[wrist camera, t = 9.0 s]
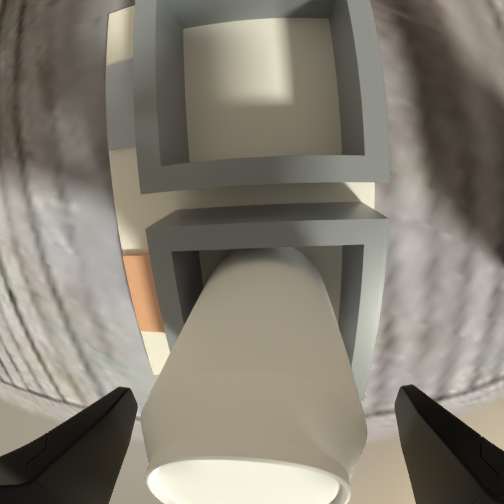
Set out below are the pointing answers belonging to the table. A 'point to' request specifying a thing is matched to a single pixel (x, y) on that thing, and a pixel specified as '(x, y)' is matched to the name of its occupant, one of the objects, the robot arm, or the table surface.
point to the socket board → (248, 152)
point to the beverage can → (256, 392)
